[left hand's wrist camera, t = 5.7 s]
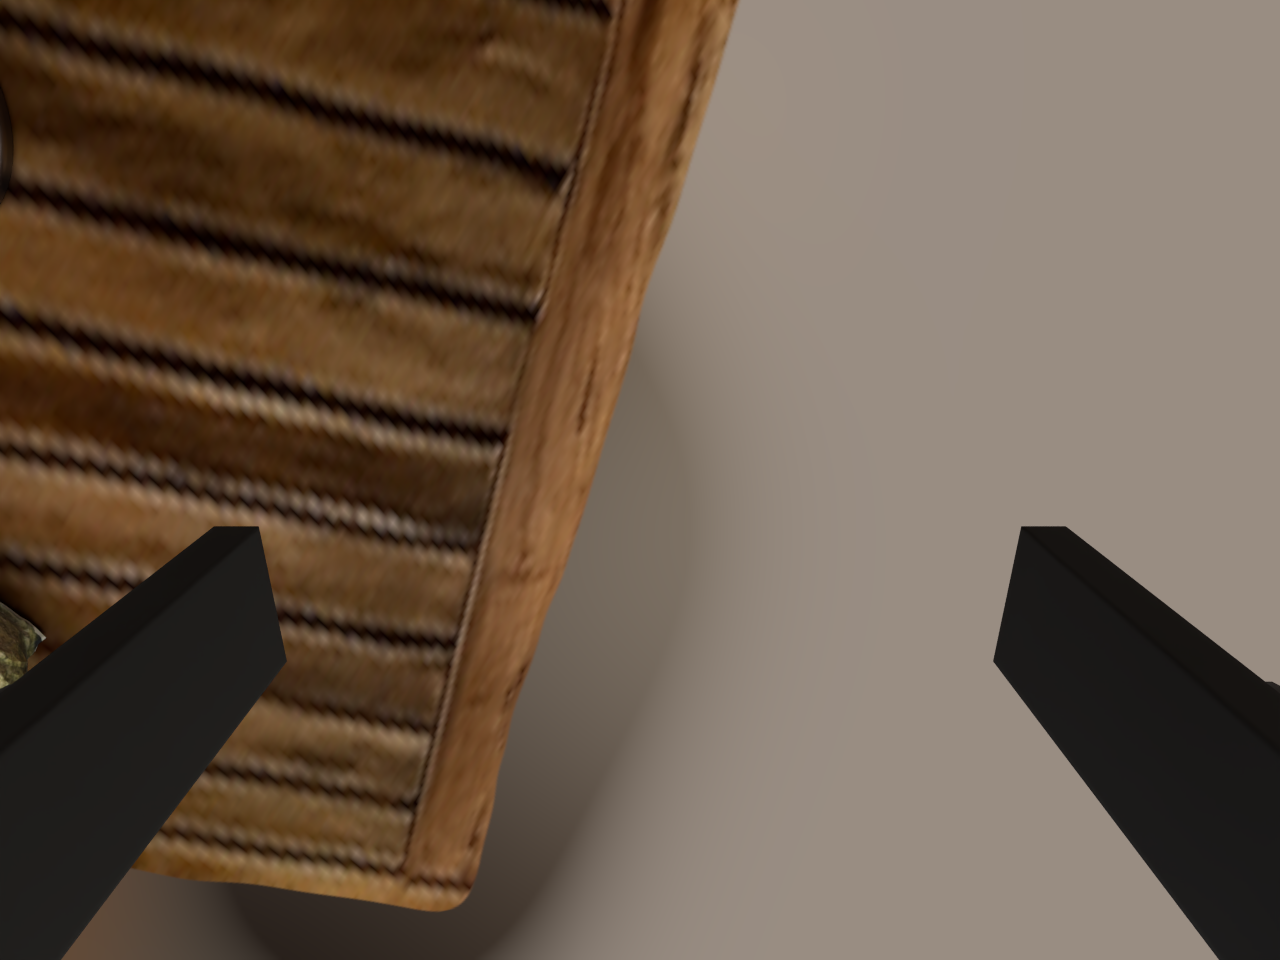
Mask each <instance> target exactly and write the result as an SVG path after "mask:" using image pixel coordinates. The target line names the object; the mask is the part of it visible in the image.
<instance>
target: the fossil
mask: <svg viewBox="0 0 1280 960" xmlns="http://www.w3.org/2000/svg"><path fill="white" fill-rule="evenodd" d="M45 638H46V637H45V636H44V635H43V634H42V633H41V632H40V631H39V630H38V629H37V628H36V627H35V626H34V625H32V624H31V623H30V622H29V621H27V620H26V619H24V618H22V617H20V616H19V615H18V614H16V613H15V612H14V611H12V610H11V609H10V608H8V607H7V606H5V605H4V604H3V603H1V602H0V689H1V688H3V687H5V686H7V685H9V684H13V683H14V682H15V681H16V680H18V679H19V678H20V677H22V676H23V675H24V674H25V673H27V659H28V658H29V657H30V656H31V655H33V653H34V651H35V650H36V648H37V646H38V644H39V643H40V642H41V641H43V640H44V639H45Z"/></svg>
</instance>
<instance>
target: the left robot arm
mask: <svg viewBox="0 0 1280 960" xmlns="http://www.w3.org/2000/svg"><path fill="white" fill-rule="evenodd" d="M12 164H13V136H12V129H11V122H10V118H9V113H8V109H7V105H6V102H5V99H4V96H3V93H2V90H1V88H0V204H1V202H2V200H3V198H4V195H5V193H6V190H7V188H8V184H9V181H10V177H11V171H12ZM993 661H994V663H995V664H996V666H997V667H998V668H999V670H1000V671H1001V672H1002V674H1003V675H1004V676H1005V677H1006V679H1007V680H1008V681H1009V683H1010V684H1011V685H1012V687H1013V688H1014V689H1015V691H1016V692H1017V693H1018V695H1019V696H1020V697H1021V699H1022V700H1023V701H1024V703H1025V704H1026V705H1027V706H1028V708H1029V709H1030V710H1031V712H1032V713H1033V714H1034V716H1035V717H1036V718H1037V720H1038V721H1039V722H1040V724H1041V725H1042V726H1043V728H1044V729H1045V730H1046V732H1047V733H1048V734H1049V736H1050V737H1051V738H1052V740H1053V741H1054V742H1055V744H1056V745H1057V746H1058V748H1059V749H1060V750H1061V751H1062V753H1063V754H1064V755H1065V757H1066V758H1067V759H1068V761H1069V762H1070V763H1071V765H1072V766H1073V767H1074V769H1075V770H1076V771H1077V773H1078V774H1079V775H1080V777H1081V778H1082V779H1083V780H1084V782H1085V783H1086V785H1087V786H1088V787H1089V788H1090V790H1091V791H1092V792H1093V794H1094V795H1095V796H1096V798H1097V799H1098V800H1099V802H1100V803H1101V804H1102V806H1103V807H1104V808H1105V810H1106V811H1107V812H1108V814H1109V815H1110V816H1111V818H1112V819H1113V820H1114V822H1115V823H1116V824H1117V825H1118V827H1119V828H1120V829H1121V831H1122V832H1123V833H1124V835H1125V836H1126V837H1127V839H1128V840H1129V841H1130V843H1131V844H1132V845H1133V847H1134V848H1135V849H1136V851H1137V852H1138V853H1139V855H1140V856H1141V857H1142V858H1143V860H1144V861H1145V862H1146V864H1147V865H1148V866H1149V868H1150V869H1151V870H1152V872H1153V873H1154V874H1155V876H1156V877H1157V878H1158V880H1159V881H1160V882H1161V884H1162V885H1163V886H1164V888H1165V889H1166V890H1167V892H1168V893H1169V894H1170V895H1171V897H1172V898H1173V899H1174V901H1175V902H1176V903H1177V905H1178V906H1179V907H1180V909H1181V910H1182V911H1183V913H1184V914H1185V915H1186V917H1187V918H1188V919H1189V921H1190V922H1191V923H1192V924H1193V926H1194V927H1195V929H1196V930H1197V931H1198V932H1199V934H1200V935H1201V936H1202V938H1203V939H1204V940H1205V942H1206V943H1207V944H1208V946H1209V947H1210V948H1211V950H1212V951H1213V952H1214V954H1215V955H1216V956H1217V958H1218V959H1219V960H1280V686H1279V685H1277V684H1275V683H1273V682H1265V681H1263V680H1262V679H1261V678H1260V677H1258V676H1257V675H1256V674H1255V673H1253V672H1252V671H1251V670H1249V669H1248V668H1247V667H1245V666H1244V665H1243V664H1242V663H1240V662H1239V661H1238V660H1237V659H1235V658H1234V657H1233V656H1231V655H1230V654H1229V653H1227V652H1226V651H1225V650H1224V649H1222V648H1221V647H1220V646H1219V645H1217V644H1216V643H1215V642H1213V641H1212V640H1211V639H1210V638H1208V637H1207V636H1206V635H1204V634H1203V633H1202V632H1201V631H1199V630H1198V629H1197V628H1195V627H1194V626H1193V625H1192V624H1190V623H1189V622H1188V621H1187V620H1185V619H1184V618H1183V617H1181V616H1180V615H1179V614H1178V613H1176V612H1175V611H1174V610H1172V609H1171V608H1170V607H1168V606H1167V605H1166V604H1165V603H1163V602H1162V601H1161V600H1160V599H1158V598H1157V597H1156V596H1154V595H1153V594H1152V593H1151V592H1149V591H1148V590H1147V589H1145V588H1144V587H1143V586H1142V585H1140V584H1139V583H1138V582H1136V581H1135V580H1134V579H1133V578H1131V577H1130V576H1129V575H1127V574H1126V573H1125V572H1124V571H1122V570H1121V569H1120V568H1119V567H1117V566H1116V565H1115V564H1113V563H1112V562H1111V561H1110V560H1108V559H1107V558H1106V557H1104V556H1103V555H1102V554H1101V553H1099V552H1098V551H1097V550H1095V549H1094V548H1093V547H1092V546H1090V545H1089V544H1088V543H1086V542H1085V541H1084V540H1083V539H1081V538H1080V537H1079V536H1077V535H1076V534H1075V533H1074V532H1072V531H1071V530H1070V529H1068V528H1067V527H1065V526H1061V527H1060V526H1053V527H1052V526H1051V527H1049V526H1031V527H1030V526H1022V527H1021V531H1020V535H1019V540H1018V545H1017V550H1016V555H1015V559H1014V564H1013V569H1012V574H1011V579H1010V583H1009V588H1008V593H1007V598H1006V602H1005V607H1004V612H1003V617H1002V622H1001V626H1000V631H999V636H998V641H997V646H996V650H995V655H994V660H993ZM286 662H287V660H286V655H285V650H284V646H283V641H282V636H281V631H280V626H279V622H278V617H277V612H276V607H275V602H274V598H273V593H272V588H271V583H270V579H269V574H268V569H267V564H266V559H265V555H264V550H263V545H262V540H261V535H260V531H259V526H214V527H213V528H212V529H210V530H209V531H208V532H206V533H205V534H204V535H203V536H201V537H200V538H199V539H197V540H196V541H195V542H194V543H192V544H191V545H190V546H188V547H187V548H186V549H185V550H183V551H182V552H181V553H179V554H178V555H177V556H176V557H174V558H173V559H172V560H170V561H169V562H168V563H167V564H165V565H164V566H163V567H161V568H160V569H159V570H158V571H156V572H155V573H154V574H153V575H151V576H150V577H149V578H147V579H146V580H145V581H144V582H142V583H141V584H140V585H138V586H137V587H136V588H135V589H133V590H132V591H131V592H129V593H128V594H127V595H126V596H124V597H123V598H122V599H120V600H119V601H118V602H117V603H115V604H114V605H113V606H111V607H110V608H109V609H108V610H106V611H105V612H104V613H102V614H101V615H100V616H99V617H97V618H96V619H95V620H93V621H92V622H91V623H90V624H88V625H87V626H86V627H84V628H83V629H82V630H81V631H79V632H78V633H77V634H76V635H74V636H73V637H72V638H70V639H69V640H68V641H67V642H65V643H64V644H63V645H61V646H60V647H59V648H58V649H56V650H55V651H54V652H52V653H51V654H50V655H49V656H47V657H46V658H45V659H43V660H42V661H41V662H40V663H38V664H37V665H36V666H34V667H33V668H32V669H31V670H29V671H28V672H27V673H25V674H24V675H23V676H22V677H20V678H19V679H18V680H16V681H15V682H14V683H13V684H9V685H7V686H5V687H3V688H1V689H0V960H61V959H62V958H63V956H64V955H65V954H66V952H67V951H68V950H69V948H70V947H71V946H72V944H73V943H74V942H75V940H76V939H77V938H78V936H79V935H80V934H81V932H82V931H83V930H84V929H85V927H86V926H87V925H88V923H89V922H90V921H91V919H92V918H93V917H94V915H95V914H96V913H97V911H98V910H99V909H100V907H101V906H102V905H103V903H104V902H105V901H106V899H107V898H108V897H109V895H110V894H111V893H112V891H113V890H114V889H115V888H116V886H117V885H118V884H119V882H120V881H121V880H122V878H123V877H124V876H125V874H126V873H127V872H128V870H129V869H130V868H131V866H132V865H133V864H134V862H135V861H136V860H137V859H138V857H139V856H140V855H141V853H142V852H143V851H144V849H145V848H146V847H147V845H148V844H149V843H150V841H151V840H152V839H153V837H154V836H155V835H156V833H157V832H158V831H159V829H160V828H161V827H162V825H163V824H164V823H165V822H166V820H167V819H168V818H169V816H170V815H171V814H172V812H173V811H174V810H175V808H176V807H177V806H178V804H179V803H180V802H181V800H182V799H183V798H184V796H185V795H186V794H187V792H188V791H189V790H190V788H191V787H192V786H193V785H194V783H195V782H196V781H197V779H198V778H199V777H200V775H201V774H202V773H203V771H204V770H205V769H206V767H207V766H208V765H209V763H210V762H211V761H212V759H213V758H214V757H215V755H216V754H217V753H218V751H219V750H220V749H221V748H222V746H223V745H224V744H225V742H226V741H227V740H228V738H229V737H230V736H231V734H232V733H233V732H234V730H235V729H236V728H237V726H238V725H239V724H240V722H241V721H242V720H243V718H244V717H245V716H246V714H247V713H248V712H249V711H250V709H251V708H252V707H253V705H254V704H255V703H256V701H257V700H258V699H259V697H260V696H261V695H262V693H263V692H264V691H265V689H266V688H267V687H268V685H269V684H270V683H271V681H272V680H273V679H274V678H275V676H276V675H277V674H278V672H279V671H280V670H281V668H282V667H283V666H284V664H285V663H286Z"/></svg>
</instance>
